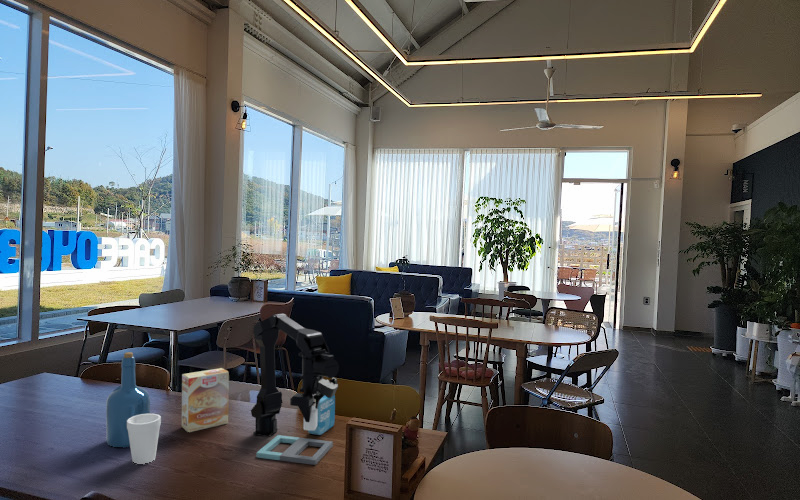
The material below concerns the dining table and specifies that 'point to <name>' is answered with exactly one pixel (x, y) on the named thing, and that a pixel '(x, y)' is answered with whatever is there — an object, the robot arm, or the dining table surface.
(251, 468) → the dining table surface
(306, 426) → the white salt shaker
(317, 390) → the robot arm
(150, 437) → the foam cup
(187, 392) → the coffeecake box
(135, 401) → the wine bottle
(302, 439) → the panel
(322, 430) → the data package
